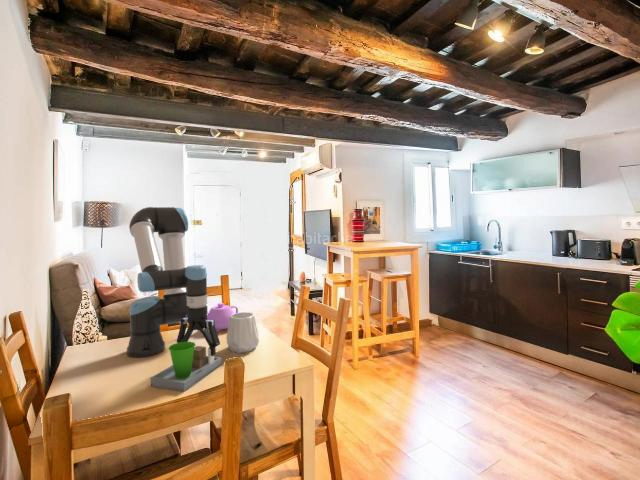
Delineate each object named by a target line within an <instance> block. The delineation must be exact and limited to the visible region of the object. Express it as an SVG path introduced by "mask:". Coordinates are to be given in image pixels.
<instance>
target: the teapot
mask: <svg viewBox="0 0 640 480" xmlns="http://www.w3.org/2000/svg"><path fill="white" fill-rule="evenodd" d="M234 308H235V311H234V310H233V309H234ZM236 313H239V308H238V307H237V305H231V306H229V305H227V304H226V305H225V304H224V302H221V303H220V302H219V303H217V305H215V306H214V305H213V306H212V307H211V308H210V309H209V311H208V314H207V319H208V320H214V321H215V328H216V331H217V334H218V333H220V332H221V331H222V330H226V331H228V325H229V318H230V316H231V315H233V314H236ZM206 325H208V324H206ZM207 327H208V326H207ZM220 330H221V331H220Z"/></svg>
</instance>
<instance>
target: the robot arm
mask: <svg viewBox="0 0 640 480" xmlns="http://www.w3.org/2000/svg"><path fill="white" fill-rule="evenodd" d="M188 219H189V218H188V215H187V212H186V211H185V210H184V209H183V208H182V207H174V206H172V207H166V206H165V207H164V206H163V207H155V206H154V207H153V206H149V207H144V208H142V209H140V210H138V211H137V212H135V214H134V215H133V216H132V217H131V219H130V222H129V226H128V227H129V233H130V235H131V236H132V237H133V238H134V244H135V248H136V251H137V257H138V260H139V261H138V262H139V265H140V270H141V271H140V272H139V273H138V274H137V277H136V278H137V281H136V282H137V288H138V289H137V290H138V291H139V292H141V293H148V292H151V293H152V292H157V291H165V292H164V293H163V295H162V296H163V297H162V298H160V297H159V296H158V295H151V296H145V297H141V298H138V299H136V300H134V301H132V302H131V303H130V305H129V313H128V314H129V318H130V319H129V321H130V322H129V323H130V325H129V326H130V337H129V341H128V346H127V348H126V355H127V357H131V358H144V357H150V356H153V355H157V354H160V353H162V352H163V351H165V350H166V342H165V341H164V337H163V335H162V332H161V326H163V325H171V324H176V323H177V324H178V323H180V326H179V329H178V334H177V339H176V343H179V342H189V340H190V338H191V335H193V332H194V331H198V332H200V333H201V334H202V335H203V337H204V339H205V341H206V343H207V345H208V348H207V356H208V365H209V364H210V363H212V362H213V361H214V357H215V356H216V354H217V352H216V349H217V347H218V346H220V345H221V341H220V338H219V335H218V333H217V331H216V328H215V321H214V320H208V319H207V315H208V313H209V311H208V305H207V304H208V286H207V285H208V284H207V281H208V279H207V275H208V274H207V273H208V272H207V268H206V266H205V265H203V264H202V265H201V264H199V265H197V264H196V265H188V266H186V267H185V260H184V259H185V258H184V257H185V256H184V251H183V250H184V249H183V247H184V246H183V237H185V235H186V232H188V230H189V220H188ZM154 233H157V234H158V235H157V236H158V237H159V238H160V239H161V240H162V251H163V252H162V253H163V265H164V269H163V265H162V261H161V257H160V253H159V250H158V247H157V243H156V240H155V236H154ZM206 324H208V325H206ZM207 326H208V327H207Z"/></svg>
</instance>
